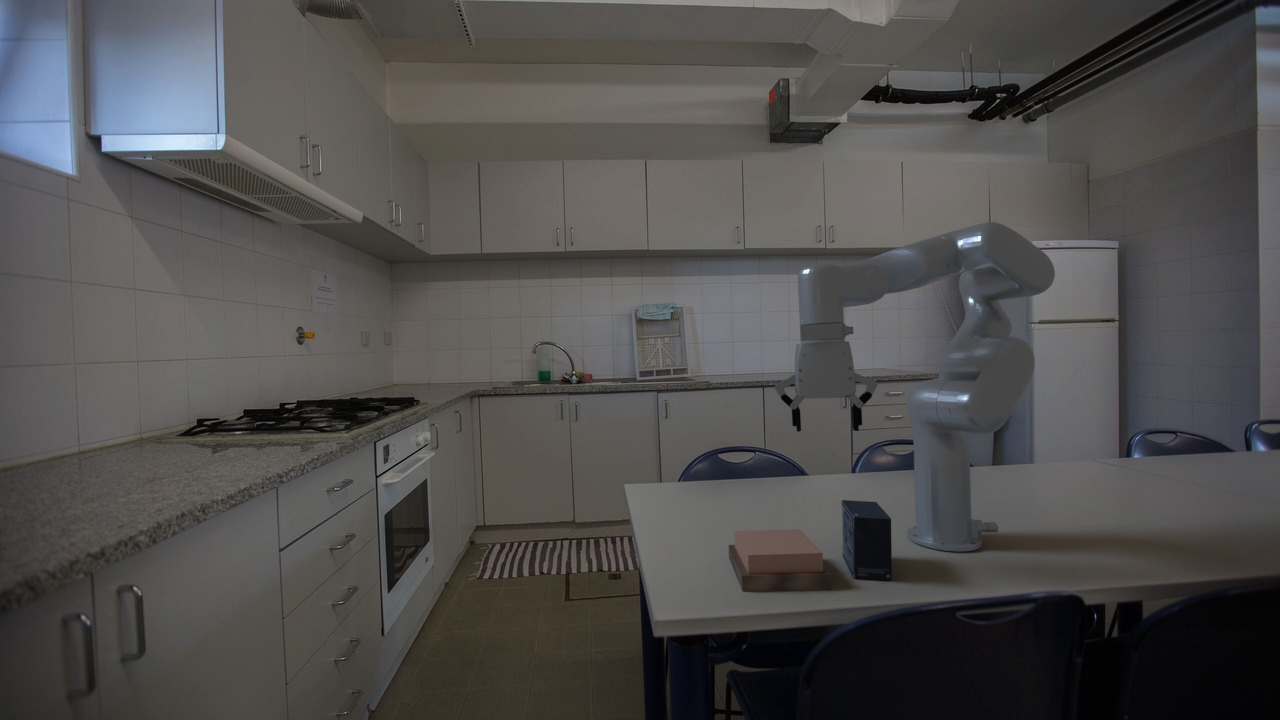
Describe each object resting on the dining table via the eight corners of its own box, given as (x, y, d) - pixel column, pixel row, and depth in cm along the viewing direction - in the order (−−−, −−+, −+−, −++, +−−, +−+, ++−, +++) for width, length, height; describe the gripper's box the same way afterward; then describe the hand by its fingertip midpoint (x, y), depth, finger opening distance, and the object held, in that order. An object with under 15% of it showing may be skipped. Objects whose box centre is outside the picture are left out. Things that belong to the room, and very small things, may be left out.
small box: (895, 582, 84) (893, 517, 84) (853, 579, 86) (851, 516, 86) (879, 557, 95) (877, 500, 95) (841, 555, 96) (839, 499, 96)
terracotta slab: (799, 545, 95) (799, 529, 95) (823, 571, 83) (822, 552, 83) (734, 547, 95) (734, 530, 95) (748, 573, 83) (748, 555, 83)
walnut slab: (804, 559, 96) (804, 543, 96) (830, 593, 82) (830, 574, 82) (729, 561, 97) (728, 544, 97) (742, 594, 83) (741, 576, 83)
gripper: (870, 332, 94) (875, 426, 94) (772, 338, 99) (777, 427, 99) (878, 331, 87) (883, 433, 87) (772, 337, 92) (776, 434, 92)
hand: (826, 430), depth 93 cm, fingers open, 9 cm apart
